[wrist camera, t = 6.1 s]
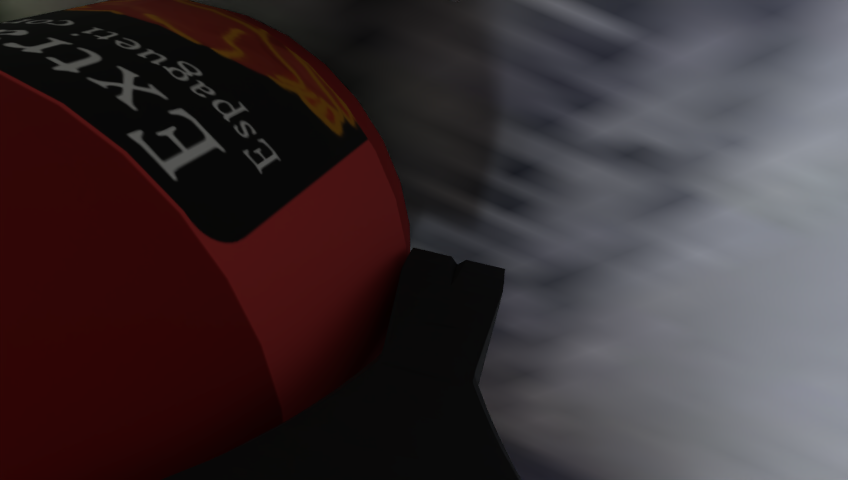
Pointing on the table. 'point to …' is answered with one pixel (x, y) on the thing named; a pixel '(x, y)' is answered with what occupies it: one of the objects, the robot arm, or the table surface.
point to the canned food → (179, 237)
